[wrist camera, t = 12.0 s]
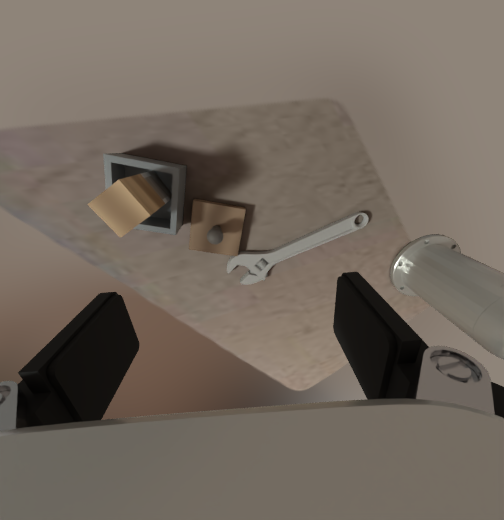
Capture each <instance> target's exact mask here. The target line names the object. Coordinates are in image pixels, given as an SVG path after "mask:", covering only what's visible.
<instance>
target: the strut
mask: <svg viewBox="0 0 504 520" xmlns="http://www.w3.org/2000/svg"><path fill="white" fill-rule="evenodd" d="M171 199H172V193H171V192H170V190H169V189H168V188H167V187H166V185H165V184H164V183H163V182H162V180H161V179H160V178H159V177H158V175H157V174H156V173H155V172H154V170H152V171H149V172H145V173H141V174H137V175H134V176H130V177H126V178H122V179H119V180H117V181H116V182H115V183H114V184H112V185H111V186H110V187H109V188H107V189H106V190H105V191H104V192H102V193H101V194H100V195H99V196H97V197H96V198H95V199H94V200H92V201H91V202H90V203H89V204H88V206H89V207H90V208H91V209H92V210H93V211H94V212H95V213H96V214H97V215H98V216H99V217H100V218H101V219H102V220H103V221H104V222H105V223H106V224H107V225H108V226H109V227H110V228H111V229H112V230H113V231H114V232H115V233H116V234H117V235H118V236H119V237H120V238H121V237H122V236H124V235H125V234H126V233H128V232H129V231H130V230H132V229H133V228H134V227H136V226H137V225H138V224H140V223H141V222H143V221H144V220H145V219H147V218H148V217H149V216H151V215H152V214H153V213H154V212H156V211H157V210H158V209H159V208H161V207H162V206H163V205H164V204H166V203H167V202H168V201H169V200H171Z"/></svg>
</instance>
